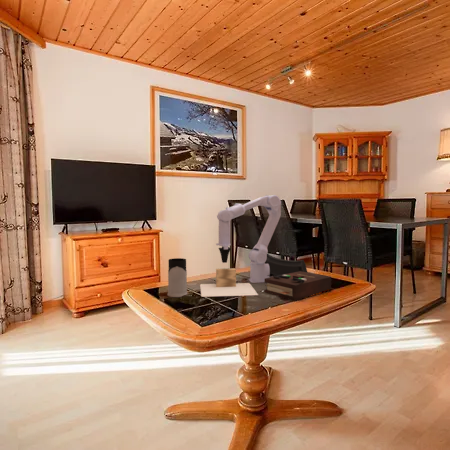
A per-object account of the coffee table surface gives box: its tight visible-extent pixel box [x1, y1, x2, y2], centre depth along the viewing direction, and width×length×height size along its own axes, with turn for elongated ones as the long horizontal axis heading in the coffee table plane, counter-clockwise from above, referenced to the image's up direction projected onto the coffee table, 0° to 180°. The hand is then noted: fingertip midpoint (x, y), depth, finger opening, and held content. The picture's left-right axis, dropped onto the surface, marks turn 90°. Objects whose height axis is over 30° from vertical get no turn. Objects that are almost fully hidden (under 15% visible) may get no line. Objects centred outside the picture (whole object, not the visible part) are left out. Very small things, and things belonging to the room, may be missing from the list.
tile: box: [215, 267, 237, 287], centre depth 155 cm, size 9×3×8 cm, turn 96°
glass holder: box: [167, 257, 188, 298], centre depth 144 cm, size 9×14×15 cm, turn 5°
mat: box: [199, 282, 259, 298], centre depth 149 cm, size 24×22×1 cm
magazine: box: [265, 253, 308, 275], centre depth 178 cm, size 17×3×30 cm
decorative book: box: [264, 271, 332, 302], centre depth 146 cm, size 19×8×30 cm
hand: (224, 262), depth 161 cm, fingers closed
